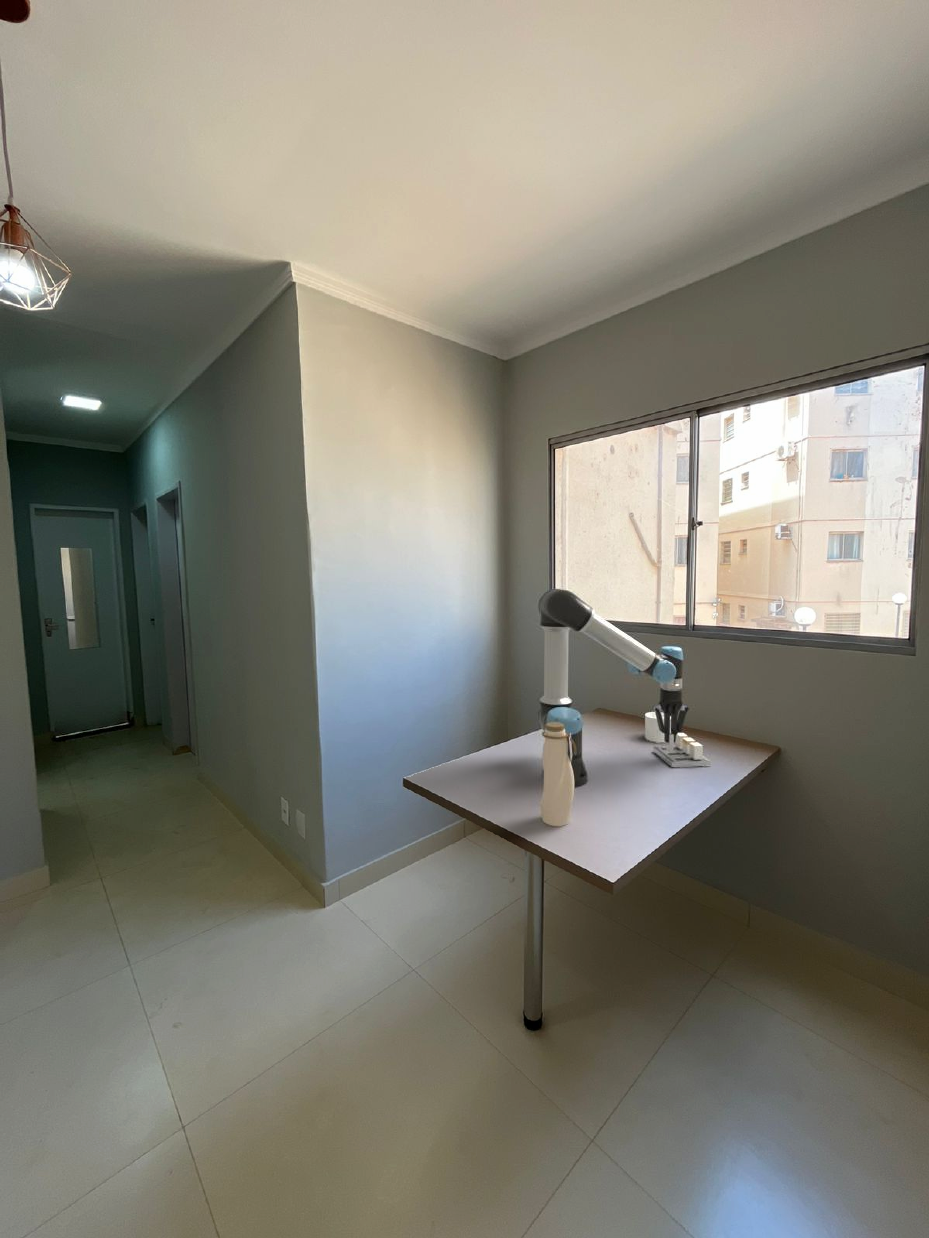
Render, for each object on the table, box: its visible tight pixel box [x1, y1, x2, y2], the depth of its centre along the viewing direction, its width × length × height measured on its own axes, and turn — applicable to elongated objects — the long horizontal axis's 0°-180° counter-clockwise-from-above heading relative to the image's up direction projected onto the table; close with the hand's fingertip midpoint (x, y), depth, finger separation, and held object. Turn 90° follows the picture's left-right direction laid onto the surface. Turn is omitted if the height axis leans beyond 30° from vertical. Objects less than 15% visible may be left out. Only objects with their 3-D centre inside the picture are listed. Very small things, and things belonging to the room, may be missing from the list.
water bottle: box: [539, 722, 576, 827], centre depth 142 cm, size 10×9×28 cm
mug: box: [644, 711, 671, 742], centre depth 208 cm, size 13×10×10 cm
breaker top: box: [674, 732, 689, 749], centre depth 192 cm, size 3×4×5 cm
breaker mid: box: [682, 737, 696, 754], centre depth 186 cm, size 3×4×5 cm
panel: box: [652, 745, 711, 768], centre depth 187 cm, size 14×16×2 cm
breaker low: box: [689, 741, 704, 760], centre depth 181 cm, size 3×4×5 cm
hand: (669, 750), depth 186 cm, fingers closed
